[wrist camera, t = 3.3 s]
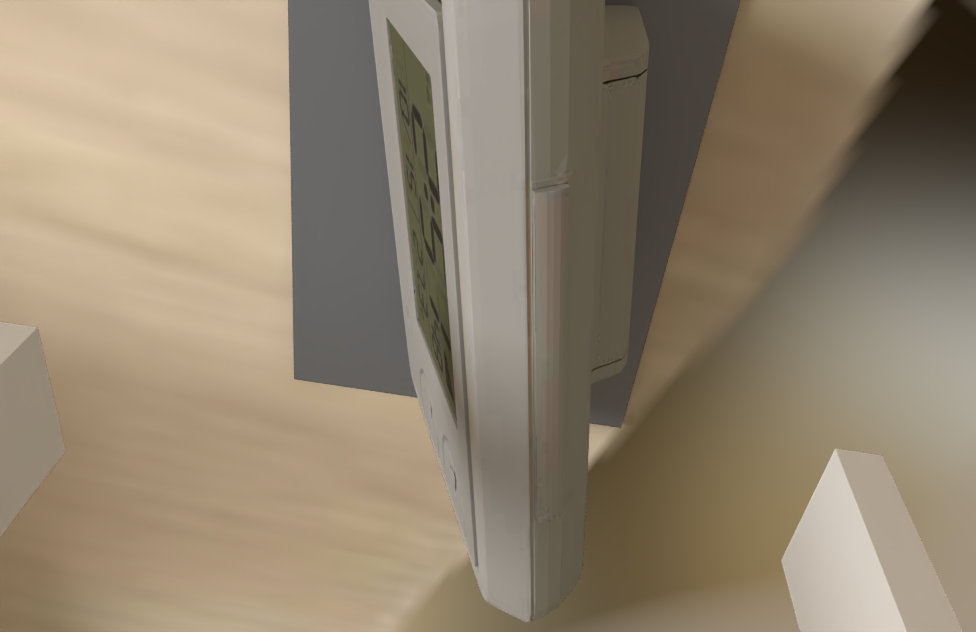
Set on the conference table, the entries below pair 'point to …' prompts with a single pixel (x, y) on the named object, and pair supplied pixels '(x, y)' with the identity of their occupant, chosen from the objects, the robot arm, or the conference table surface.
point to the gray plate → (367, 202)
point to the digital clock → (513, 257)
